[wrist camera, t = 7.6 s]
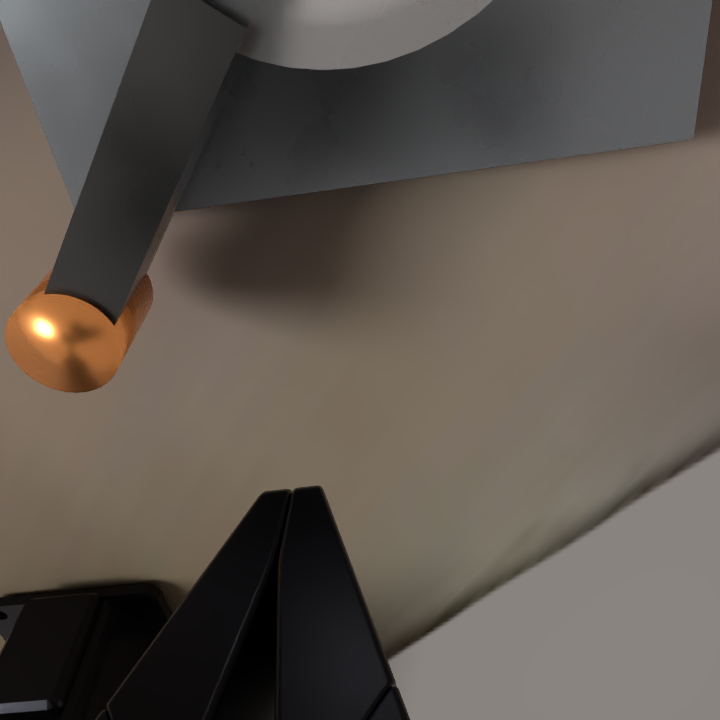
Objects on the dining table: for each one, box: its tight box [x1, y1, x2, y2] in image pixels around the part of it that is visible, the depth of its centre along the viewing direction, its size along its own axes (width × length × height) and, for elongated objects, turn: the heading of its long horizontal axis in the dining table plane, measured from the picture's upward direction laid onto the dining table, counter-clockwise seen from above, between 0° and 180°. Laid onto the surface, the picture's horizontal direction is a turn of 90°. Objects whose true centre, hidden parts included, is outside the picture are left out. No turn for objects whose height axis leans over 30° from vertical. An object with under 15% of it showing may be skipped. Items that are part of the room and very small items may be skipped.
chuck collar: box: [5, 0, 493, 393], centre depth 10 cm, size 16×8×6 cm, turn 150°
